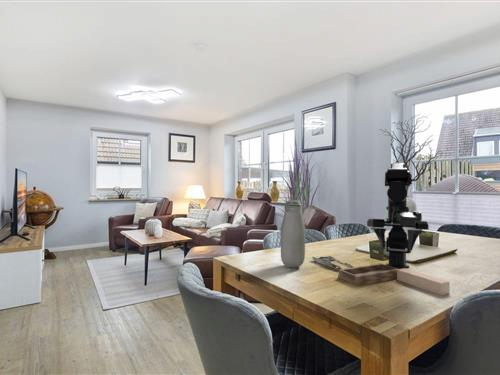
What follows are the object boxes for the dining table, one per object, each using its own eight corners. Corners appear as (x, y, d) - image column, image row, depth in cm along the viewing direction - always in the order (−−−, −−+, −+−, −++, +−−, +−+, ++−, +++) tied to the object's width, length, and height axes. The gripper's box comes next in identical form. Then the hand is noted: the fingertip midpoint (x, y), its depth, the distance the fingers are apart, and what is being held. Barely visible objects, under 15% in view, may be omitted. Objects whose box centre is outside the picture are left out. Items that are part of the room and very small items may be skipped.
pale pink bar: (397, 280, 107) (397, 269, 107) (405, 279, 108) (405, 268, 108) (441, 296, 92) (441, 283, 92) (449, 294, 94) (449, 281, 94)
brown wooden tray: (379, 270, 118) (379, 262, 118) (401, 277, 109) (401, 269, 109) (338, 277, 109) (338, 269, 109) (358, 286, 100) (358, 277, 100)
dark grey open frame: (343, 275, 113) (364, 272, 117) (343, 266, 113) (363, 264, 117) (311, 262, 133) (329, 260, 137) (311, 255, 134) (329, 253, 137)
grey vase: (289, 271, 117) (289, 201, 117) (276, 265, 126) (276, 199, 126) (309, 268, 121) (309, 200, 121) (296, 262, 130) (296, 199, 130)
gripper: (380, 201, 94) (380, 251, 93) (438, 204, 94) (439, 254, 93) (366, 203, 105) (366, 247, 104) (419, 205, 105) (419, 249, 104)
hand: (397, 249), depth 101 cm, fingers open, 9 cm apart
